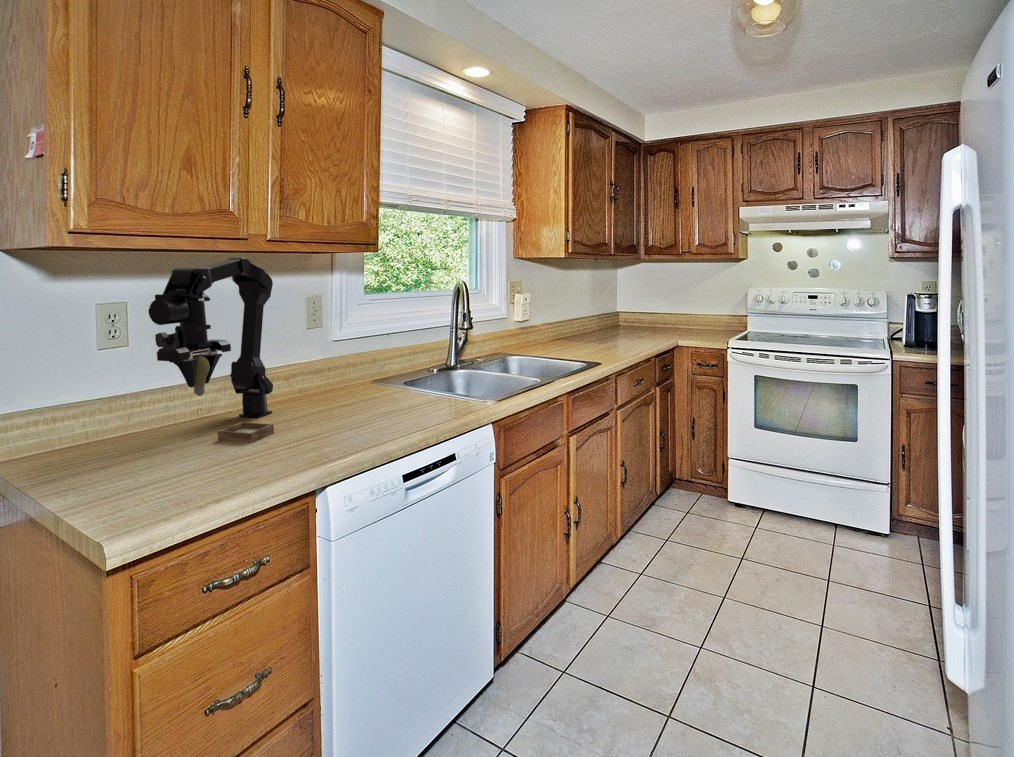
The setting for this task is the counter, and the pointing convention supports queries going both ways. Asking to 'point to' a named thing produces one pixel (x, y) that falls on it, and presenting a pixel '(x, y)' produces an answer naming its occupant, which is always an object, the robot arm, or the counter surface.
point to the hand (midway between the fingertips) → (198, 385)
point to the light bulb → (201, 374)
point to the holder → (245, 432)
